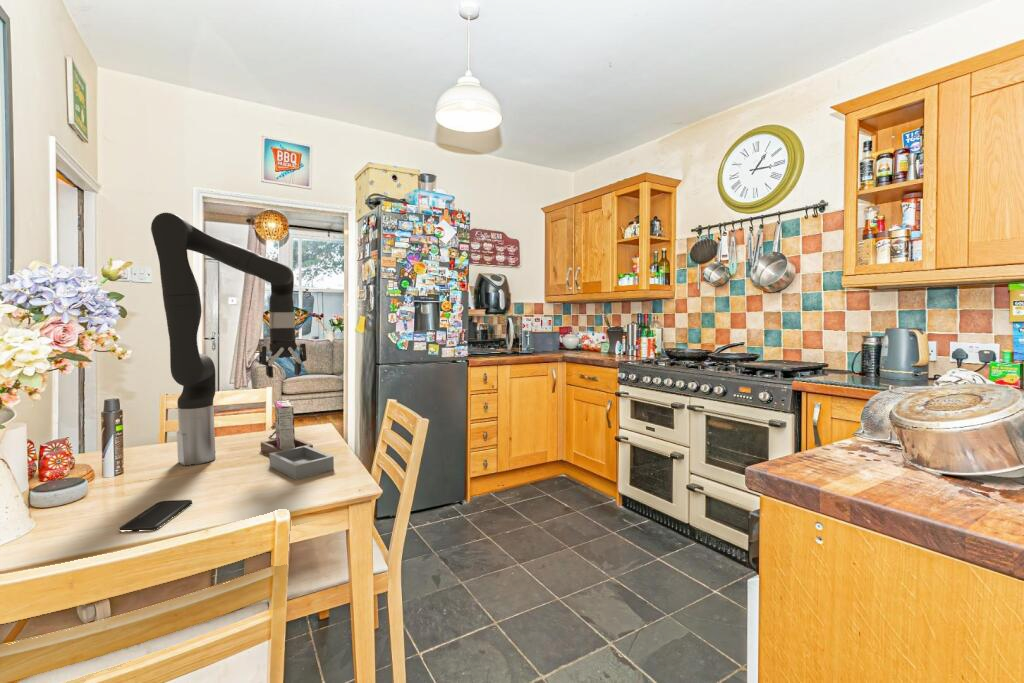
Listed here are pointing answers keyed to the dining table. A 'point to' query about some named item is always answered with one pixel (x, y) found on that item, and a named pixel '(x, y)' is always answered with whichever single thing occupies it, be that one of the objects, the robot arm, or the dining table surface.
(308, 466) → the grey tray
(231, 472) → the dining table surface
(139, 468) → the dining table surface
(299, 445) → the walnut collar
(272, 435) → the elephant figurine
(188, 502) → the phone
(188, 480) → the dining table surface
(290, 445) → the candy bar box
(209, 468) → the dining table surface
